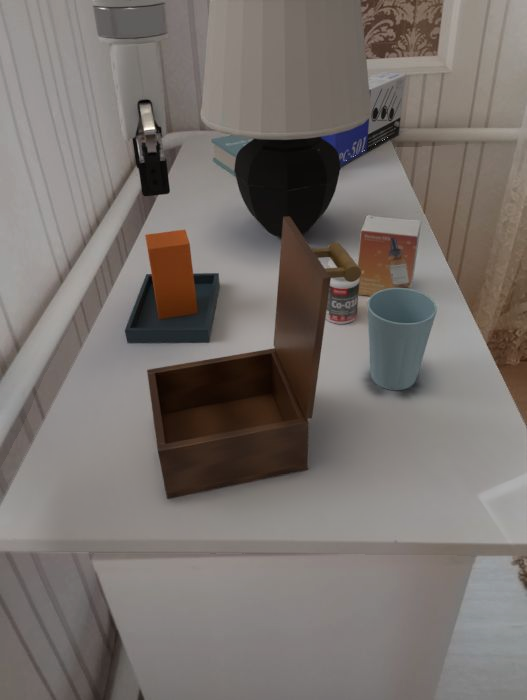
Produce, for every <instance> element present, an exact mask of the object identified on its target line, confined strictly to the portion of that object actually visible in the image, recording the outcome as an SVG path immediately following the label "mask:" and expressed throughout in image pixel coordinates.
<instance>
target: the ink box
mask: <svg viewBox="0 0 527 700" xmlns="http://www.w3.org/2000/svg"><path fill="white" fill-rule="evenodd" d="M368 82H369V91H370V100H371V105H372V115H371V116H370V118H369V119H368V120H367V121H366V122H365V123H364V124H362V125H360V126H358V127H355V128H353V129H351V130H348V131H344V132H341V133H337V134H333V135H327V136H321V138H322V139H324V140H325V141H327V142H328V143H330V144H331V145H332V146H333V147H334V148H335V149H336V150H337V152H338V155H339V159H340V167H342V166H344V165H346V164H348V163H350V162H351V161H353V160H355V159H357V158H358V157H360V156H363V155H364V154H366V153H368V152H370V151H372V150H374V149H375V148H378V147H379V146H380V145H383V144H385V143H387V142H389V141H390V140H392V139H394V138H395V137H397V136H399V135H400V128H401V117H402V109H403V100H404V93H405V92H404V91H405V82H406V74H403V73H394V72H387V71H381V72H378V73H376V74H373V75H371V76H368ZM387 137H388V138H387ZM384 139H385V140H384ZM382 140H383V141H382ZM375 144H376V145H375ZM364 150H365V151H364ZM362 151H363V152H362ZM355 155H356V156H355ZM353 156H354V157H353ZM346 160H347V161H346Z"/></svg>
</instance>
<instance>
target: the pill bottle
mask: <svg viewBox="0 0 527 700" xmlns="http://www.w3.org/2000/svg"><path fill="white" fill-rule="evenodd" d="M351 258H352V259H353V260H354V261H355V263H356V264H357V265H358V260H356V259H355V258H354V257H351ZM327 268H337V267H336V265H335V264H334V262H333V261H332V260H331V258H330V259H329V260H328V261H327ZM358 292H359V278H358V279H357V280H356V281H353V282H349V281H347V280H346V279H345V278H344V277H338V278H331V280H330V288H329V295H328V303H327V310H326V318H325V320H327V321H328V322H330V323H333V324H336V325H337V324H338V325H343V324H344V325H345V324H350V323H352V322H353V321H355V319H356V318H357V316H358V315H357V314H358V306H359V305H358V304H359V294H358Z"/></svg>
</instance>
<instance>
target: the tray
mask: <svg viewBox="0 0 527 700" xmlns="http://www.w3.org/2000/svg"><path fill="white" fill-rule="evenodd" d="M193 276H194V285H195V294H196V302H197V311H198V313H197V314H190V315H184V316H178V317H171V318H165V319H159V315H158V310H157V304H156V298H155V292H154V286H153V280H152V274H151V273H146V275H145V276H144V279H143V281H142V284H141V287H140V290H139V292H138V294H137V297H136V300H135V303H134V305H133V308H132V310H131V313H130V316H129V318H128V321H127V324H126V326H125V329H124V334H125V338H126V342H127V344H139V343H140V344H143V343H144V344H145V343H147V344H149V343H151V344H152V343H157V344H158V343H159V344H160V343H162V344H163V343H165V344H166V343H169V344H170V343H171V344H173V343H210V341H211V335H212V329H213V325H214V324H213V323H214V318H215V312H216V308H217V302H218V296H219V291H220V285H221V284H220V274H219V272H206V273H205V272H202V273H201V272H199V273H198V272H197V273H195V272H193Z"/></svg>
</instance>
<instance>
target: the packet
mask: <svg viewBox="0 0 527 700" xmlns="http://www.w3.org/2000/svg"><path fill="white" fill-rule="evenodd" d="M144 237H145V243H146V249H147V254H148V260H149V268H150V274H152V280H153V286H154V292H155V298H156V304H157V310H158V315H159V319H165V318H171V317H178V316H184V315H190V314H197V313H198V311H197V302H196V294H195V285H194V276H193V273H194V269H193V261H192V251H191V244H190V240H189V237H188V234H187V231H186V229H179V230H171V231H163V232H156V233H147V234H145V235H144Z"/></svg>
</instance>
